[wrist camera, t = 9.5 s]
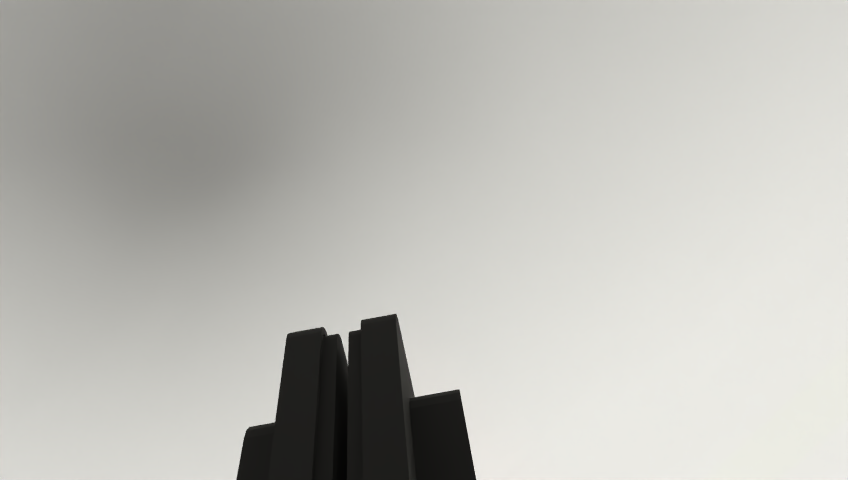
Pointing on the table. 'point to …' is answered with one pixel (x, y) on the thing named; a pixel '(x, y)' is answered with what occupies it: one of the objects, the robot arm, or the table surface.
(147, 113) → the table surface
